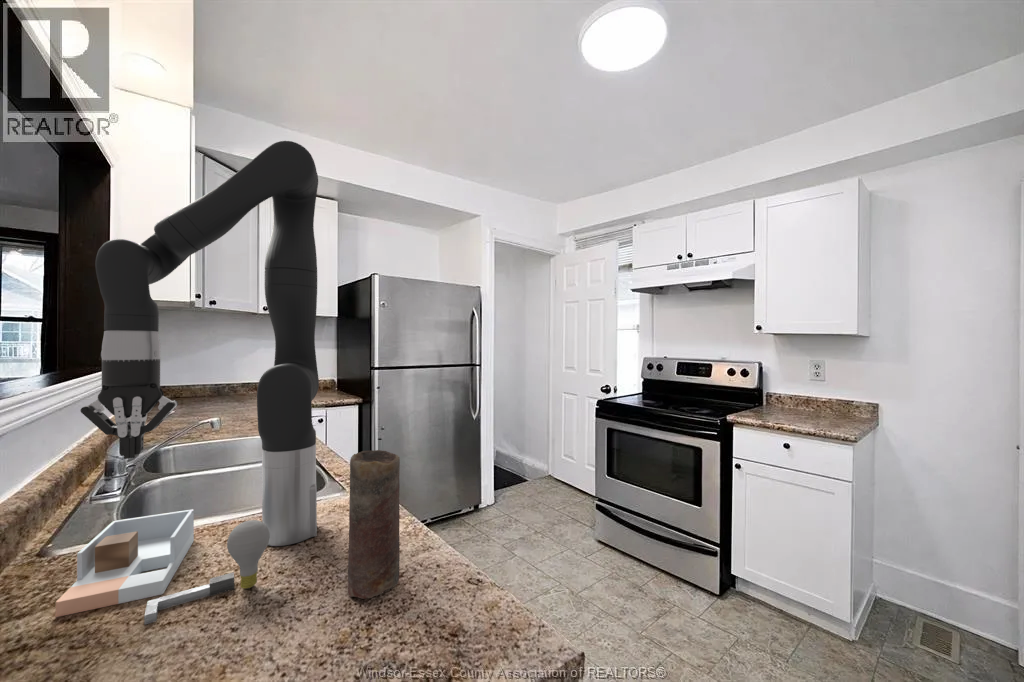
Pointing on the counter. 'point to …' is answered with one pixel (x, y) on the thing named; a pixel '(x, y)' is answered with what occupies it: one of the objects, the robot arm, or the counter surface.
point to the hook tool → (188, 596)
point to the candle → (373, 523)
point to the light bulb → (248, 549)
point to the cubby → (157, 548)
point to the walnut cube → (116, 551)
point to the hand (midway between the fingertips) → (131, 457)
